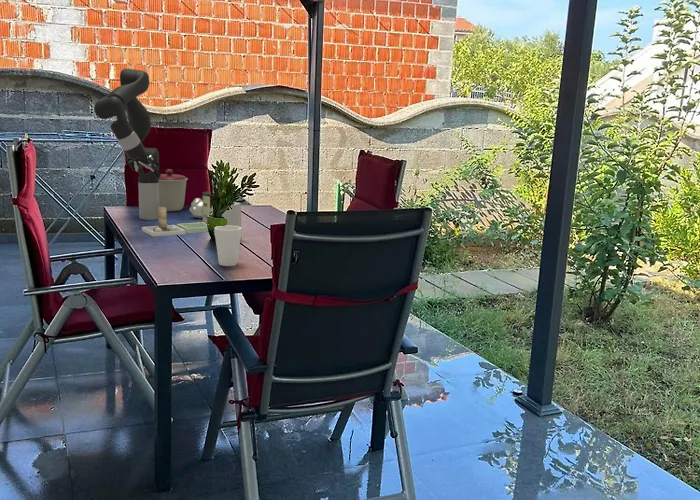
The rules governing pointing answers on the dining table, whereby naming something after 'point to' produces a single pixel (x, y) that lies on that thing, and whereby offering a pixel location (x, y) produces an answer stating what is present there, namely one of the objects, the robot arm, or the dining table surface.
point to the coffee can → (207, 205)
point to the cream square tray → (150, 231)
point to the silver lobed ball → (197, 208)
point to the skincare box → (233, 215)
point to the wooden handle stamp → (162, 219)
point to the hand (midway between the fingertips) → (151, 177)
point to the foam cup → (227, 244)
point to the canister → (172, 191)
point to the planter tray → (193, 227)
